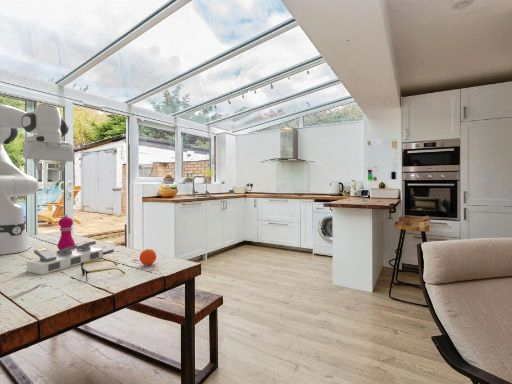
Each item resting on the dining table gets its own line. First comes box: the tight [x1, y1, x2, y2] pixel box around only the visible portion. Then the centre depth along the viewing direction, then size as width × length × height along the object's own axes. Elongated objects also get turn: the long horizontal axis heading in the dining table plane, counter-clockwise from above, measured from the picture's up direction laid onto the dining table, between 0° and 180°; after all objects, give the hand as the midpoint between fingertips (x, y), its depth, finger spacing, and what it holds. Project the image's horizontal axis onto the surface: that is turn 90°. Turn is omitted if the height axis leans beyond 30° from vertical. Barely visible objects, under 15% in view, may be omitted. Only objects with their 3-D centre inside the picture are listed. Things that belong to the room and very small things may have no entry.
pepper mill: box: [57, 213, 76, 251], centre depth 140 cm, size 7×7×20 cm
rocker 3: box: [76, 240, 97, 250], centre depth 133 cm, size 8×4×2 cm, turn 67°
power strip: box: [26, 246, 115, 275], centre depth 130 cm, size 10×37×5 cm, turn 158°
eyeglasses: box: [80, 259, 126, 280], centre depth 115 cm, size 14×14×4 cm
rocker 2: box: [56, 244, 78, 254], centre depth 125 cm, size 8×4×2 cm, turn 67°
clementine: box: [139, 248, 158, 266], centre depth 125 cm, size 8×7×7 cm
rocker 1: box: [33, 247, 57, 262], centre depth 117 cm, size 8×4×2 cm, turn 68°
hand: (50, 170), depth 129 cm, fingers open, 8 cm apart
